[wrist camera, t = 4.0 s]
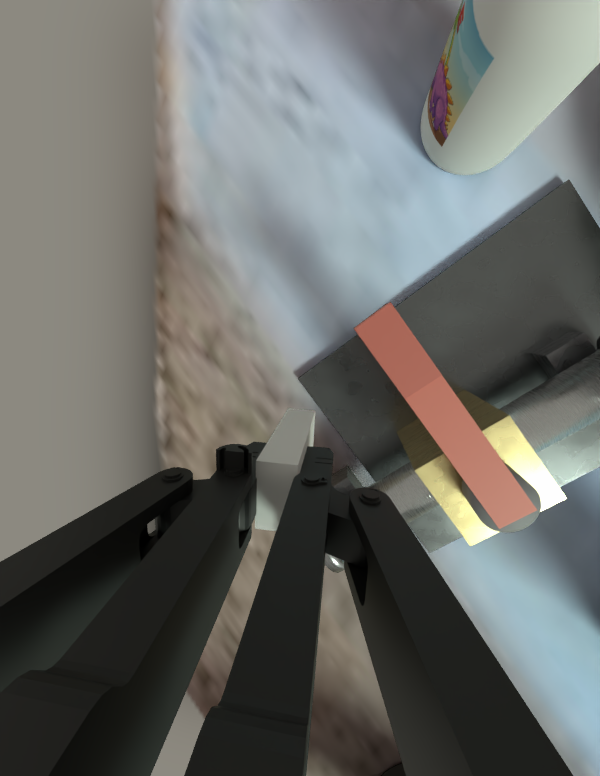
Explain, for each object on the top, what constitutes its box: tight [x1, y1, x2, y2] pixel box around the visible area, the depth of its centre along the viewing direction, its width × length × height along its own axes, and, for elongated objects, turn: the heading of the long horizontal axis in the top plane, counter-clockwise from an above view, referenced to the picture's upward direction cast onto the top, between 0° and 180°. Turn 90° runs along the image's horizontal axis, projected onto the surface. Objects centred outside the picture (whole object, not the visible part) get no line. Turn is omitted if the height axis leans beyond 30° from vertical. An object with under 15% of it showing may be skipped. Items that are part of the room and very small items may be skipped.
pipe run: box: [298, 180, 600, 573], centre depth 25 cm, size 32×22×8 cm
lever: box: [354, 302, 541, 533], centre depth 19 cm, size 16×4×2 cm, turn 37°
